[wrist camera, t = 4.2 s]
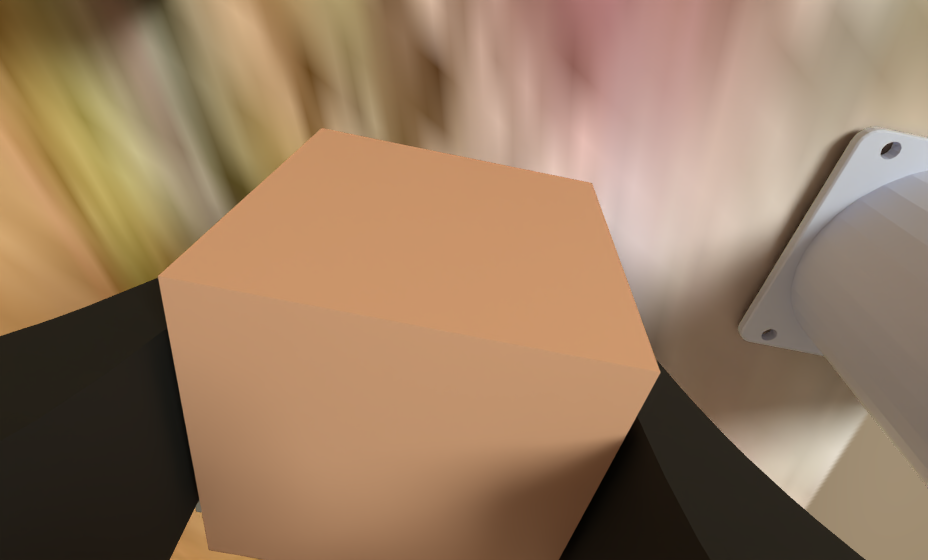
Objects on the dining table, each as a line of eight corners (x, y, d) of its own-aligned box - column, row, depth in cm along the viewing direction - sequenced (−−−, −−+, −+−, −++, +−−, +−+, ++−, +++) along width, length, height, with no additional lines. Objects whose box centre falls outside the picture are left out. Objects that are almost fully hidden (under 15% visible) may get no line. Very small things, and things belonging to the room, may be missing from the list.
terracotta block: (591, 182, 9) (660, 372, 5) (525, 378, 12) (532, 606, 8) (321, 127, 9) (158, 275, 5) (316, 338, 12) (209, 549, 8)
